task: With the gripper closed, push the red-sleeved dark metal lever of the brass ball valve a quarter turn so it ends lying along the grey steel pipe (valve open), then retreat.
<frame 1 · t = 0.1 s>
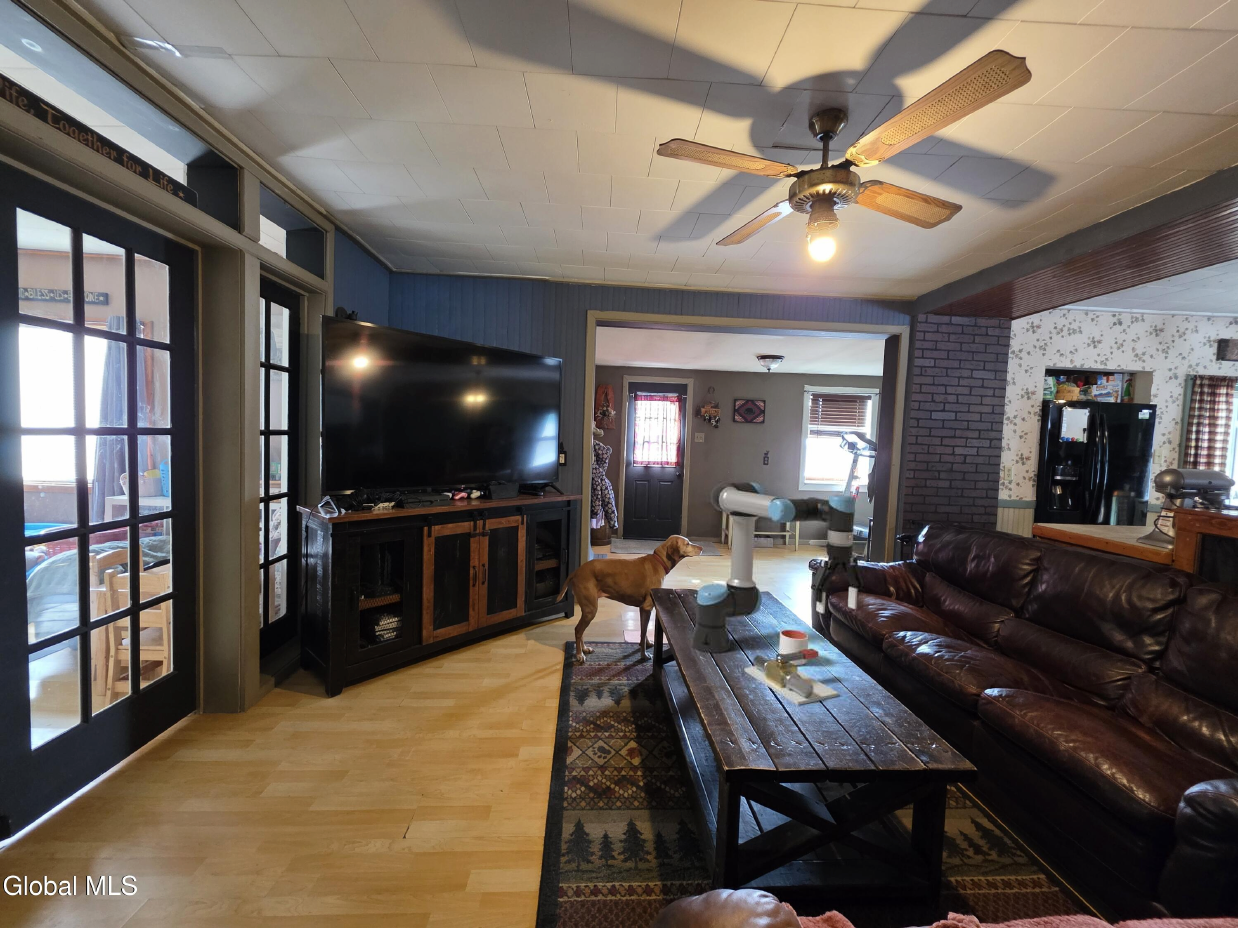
hand: (836, 609, 170), 28 cm above the table, fingers open, 13 cm apart
lever: (796, 656, 180), point 9 cm above the table, hinge at 0.0°
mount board: (789, 682, 179), on the table
valve: (781, 684, 177), resting on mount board
cup: (792, 661, 198), on the table
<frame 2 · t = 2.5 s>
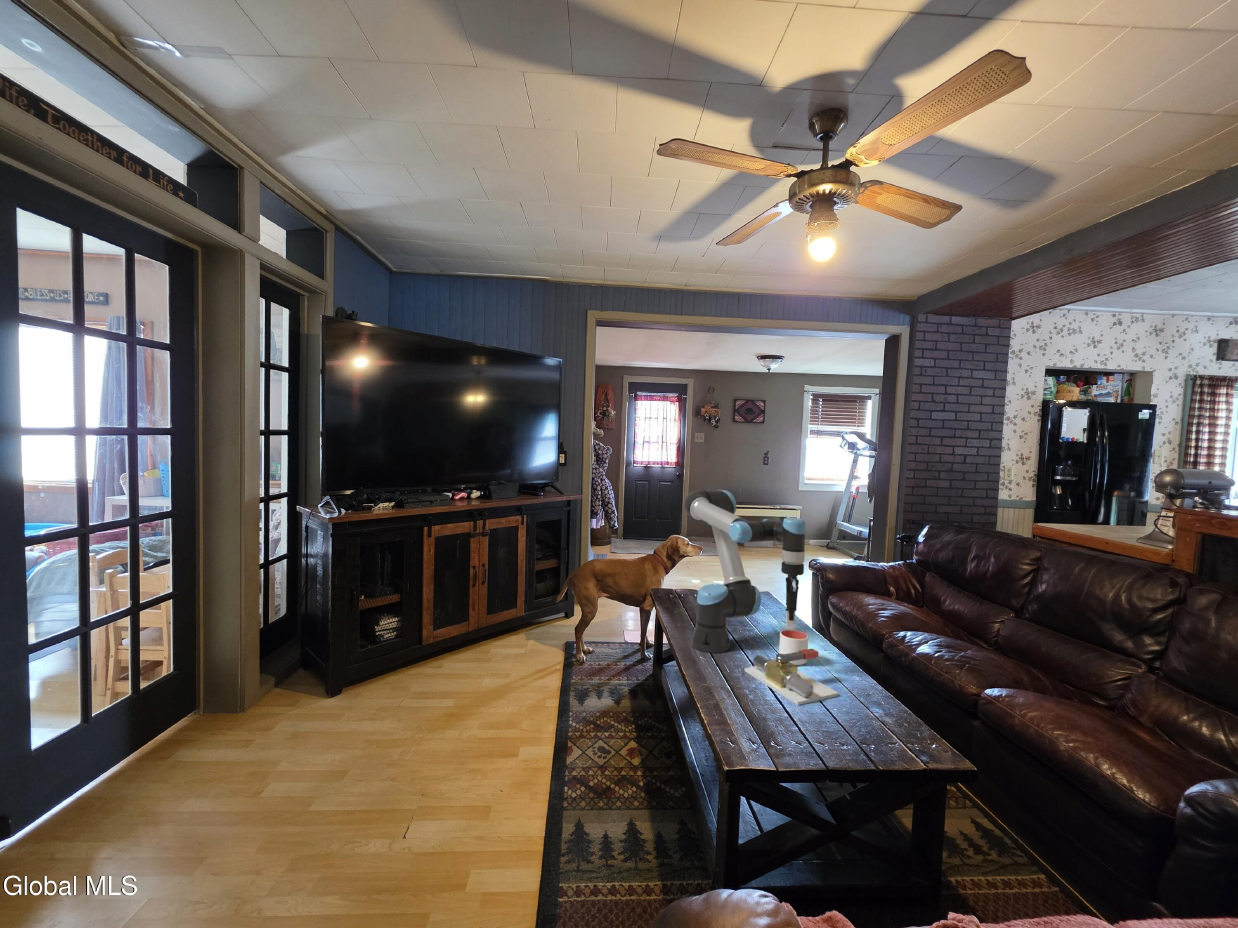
hand: (790, 628, 188), 15 cm above the table, fingers closed
nothing on the table moved.
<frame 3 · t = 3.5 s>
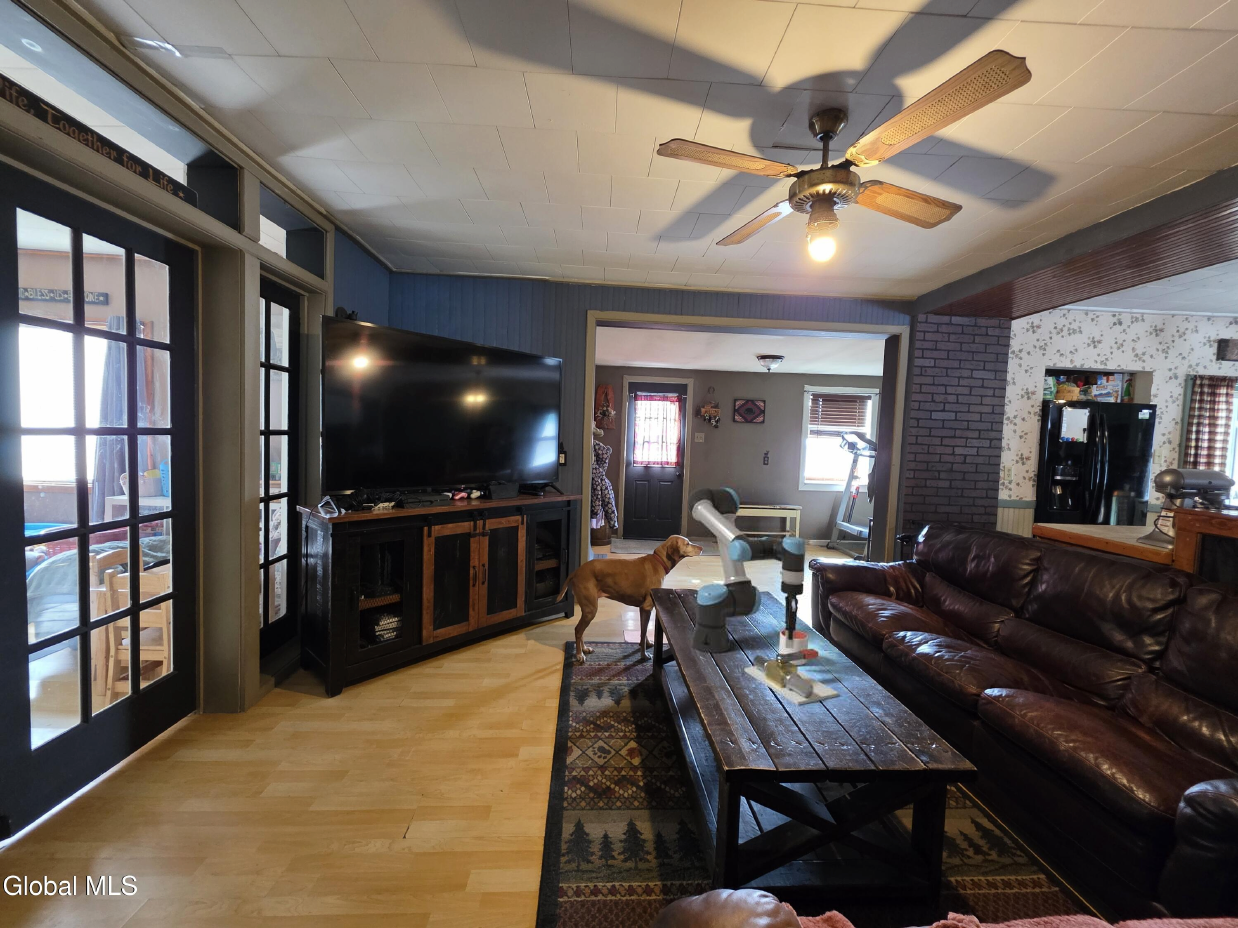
hand: (789, 647, 188), 8 cm above the table, fingers closed
nothing on the table moved.
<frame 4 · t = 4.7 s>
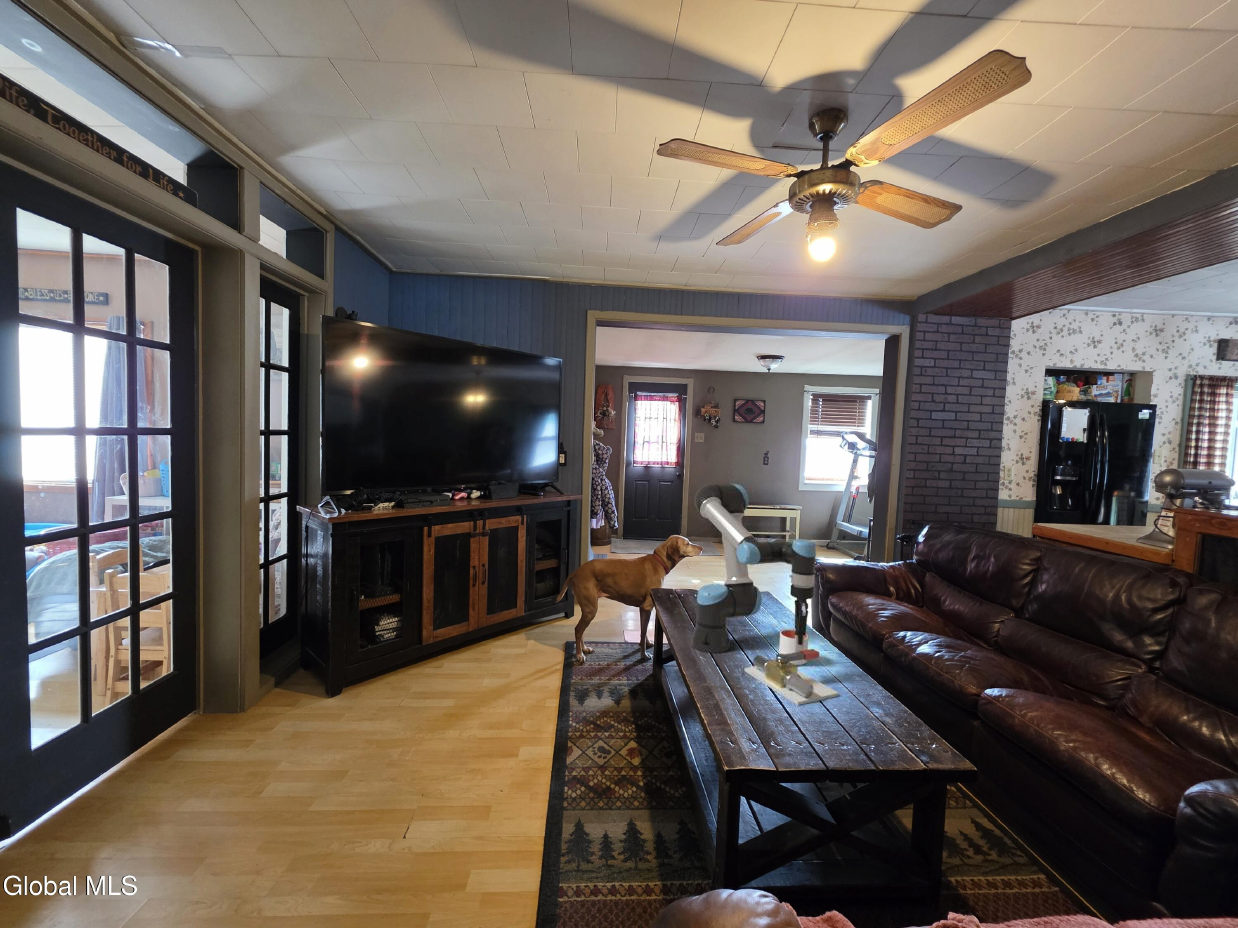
hand: (799, 652, 183), 9 cm above the table, fingers closed
lever: (797, 656, 179), point 9 cm above the table, hinge at 1.9°, touching gripper
everything else where it was.
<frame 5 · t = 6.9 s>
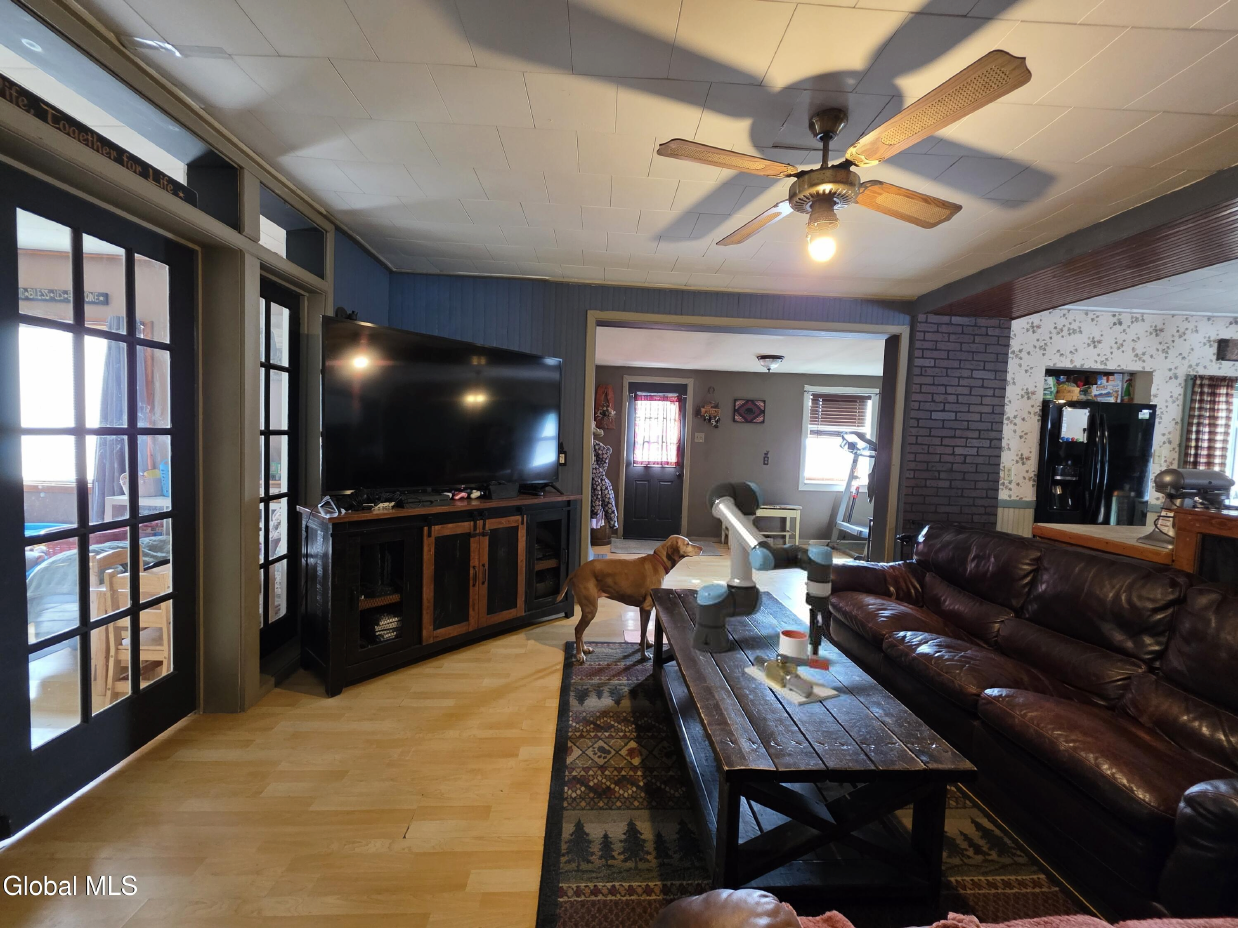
hand: (813, 662, 176), 8 cm above the table, fingers closed
lever: (802, 661, 175), point 9 cm above the table, hinge at 44.0°, touching gripper
everything else where it was.
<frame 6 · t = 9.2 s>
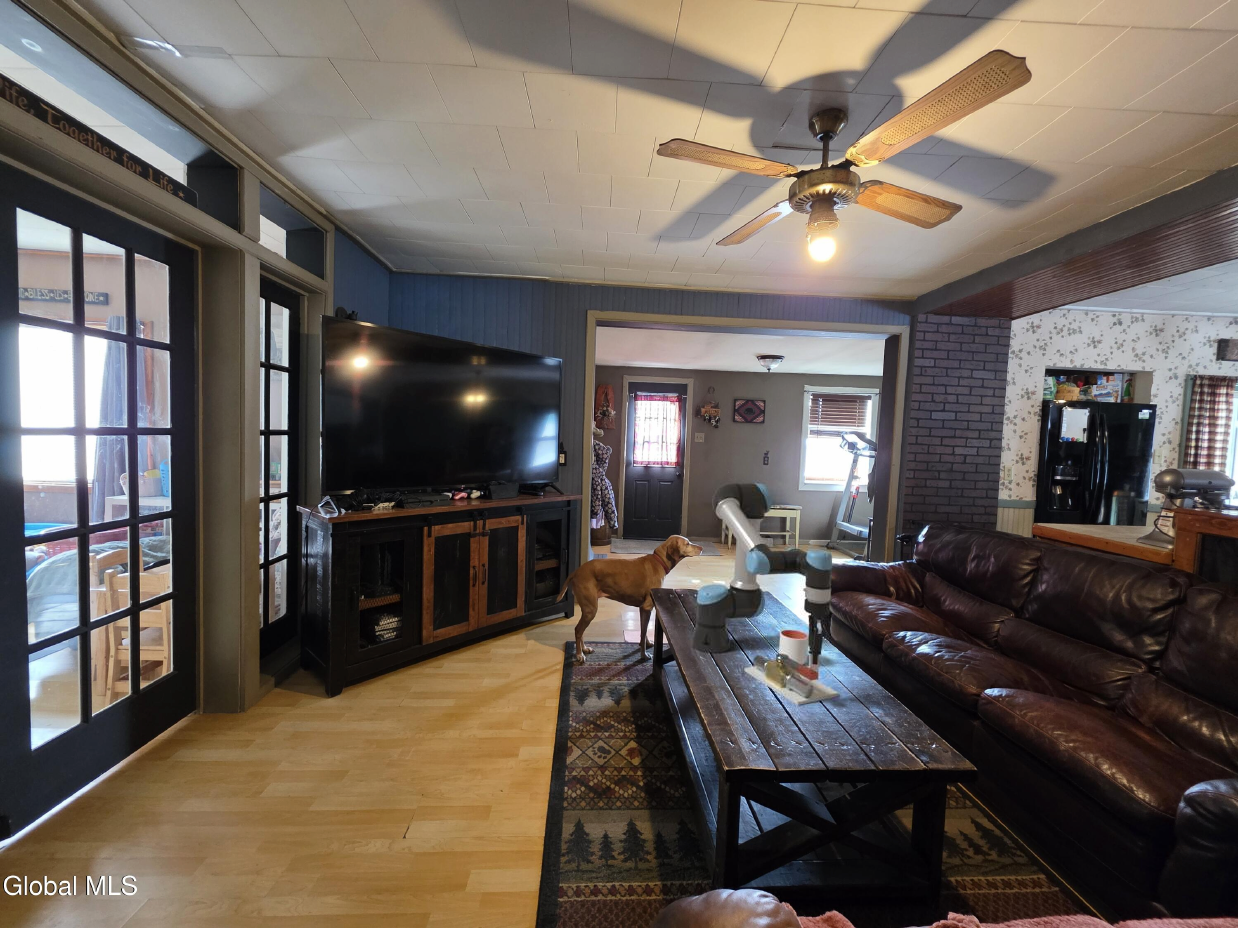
hand: (813, 672, 168), 8 cm above the table, fingers closed
lever: (795, 666, 171), point 9 cm above the table, hinge at 90.4°, touching gripper
everything else where it was.
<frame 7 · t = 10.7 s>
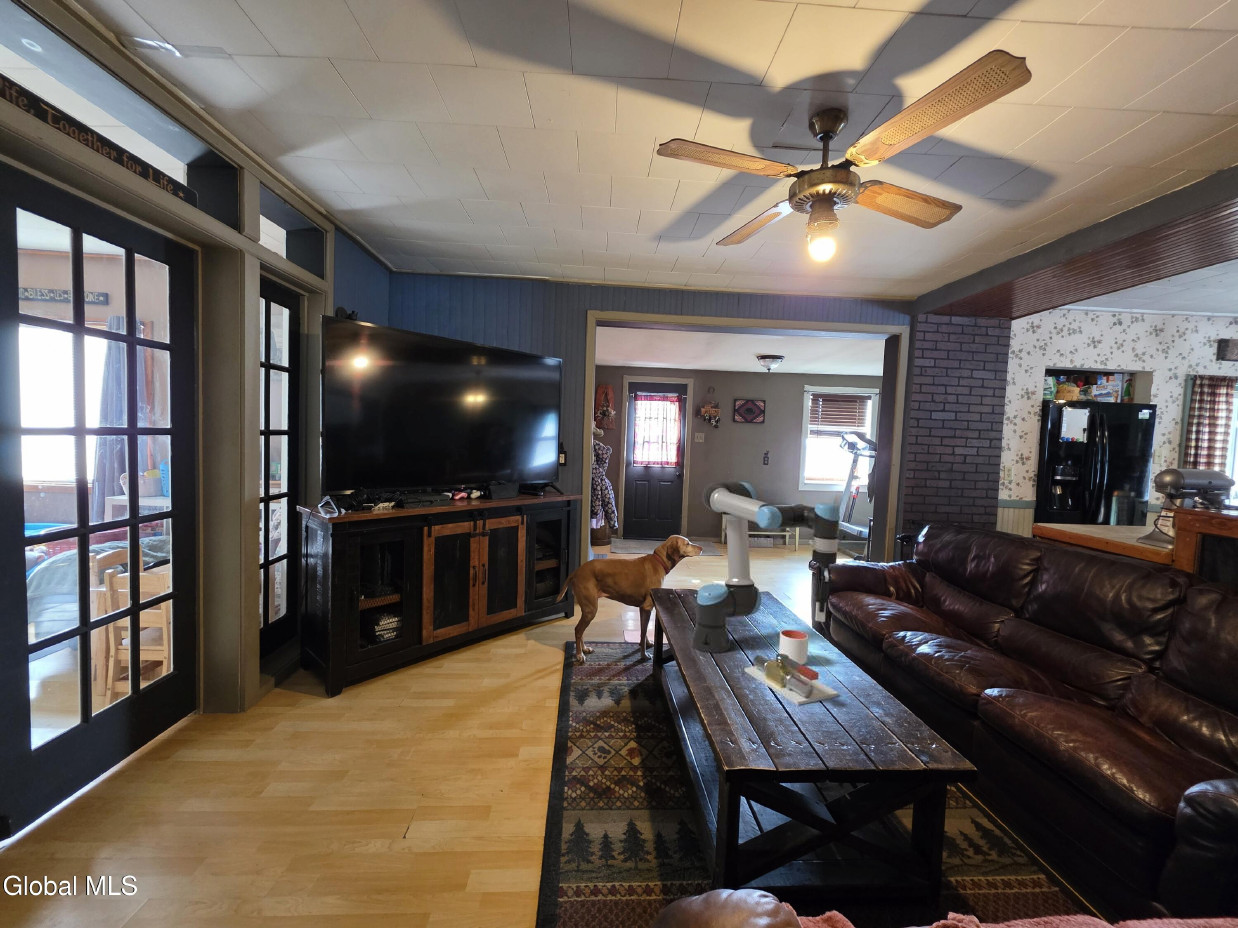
hand: (820, 620, 176), 22 cm above the table, fingers closed
lever: (795, 666, 171), point 9 cm above the table, hinge at 90.4°
everything else where it was.
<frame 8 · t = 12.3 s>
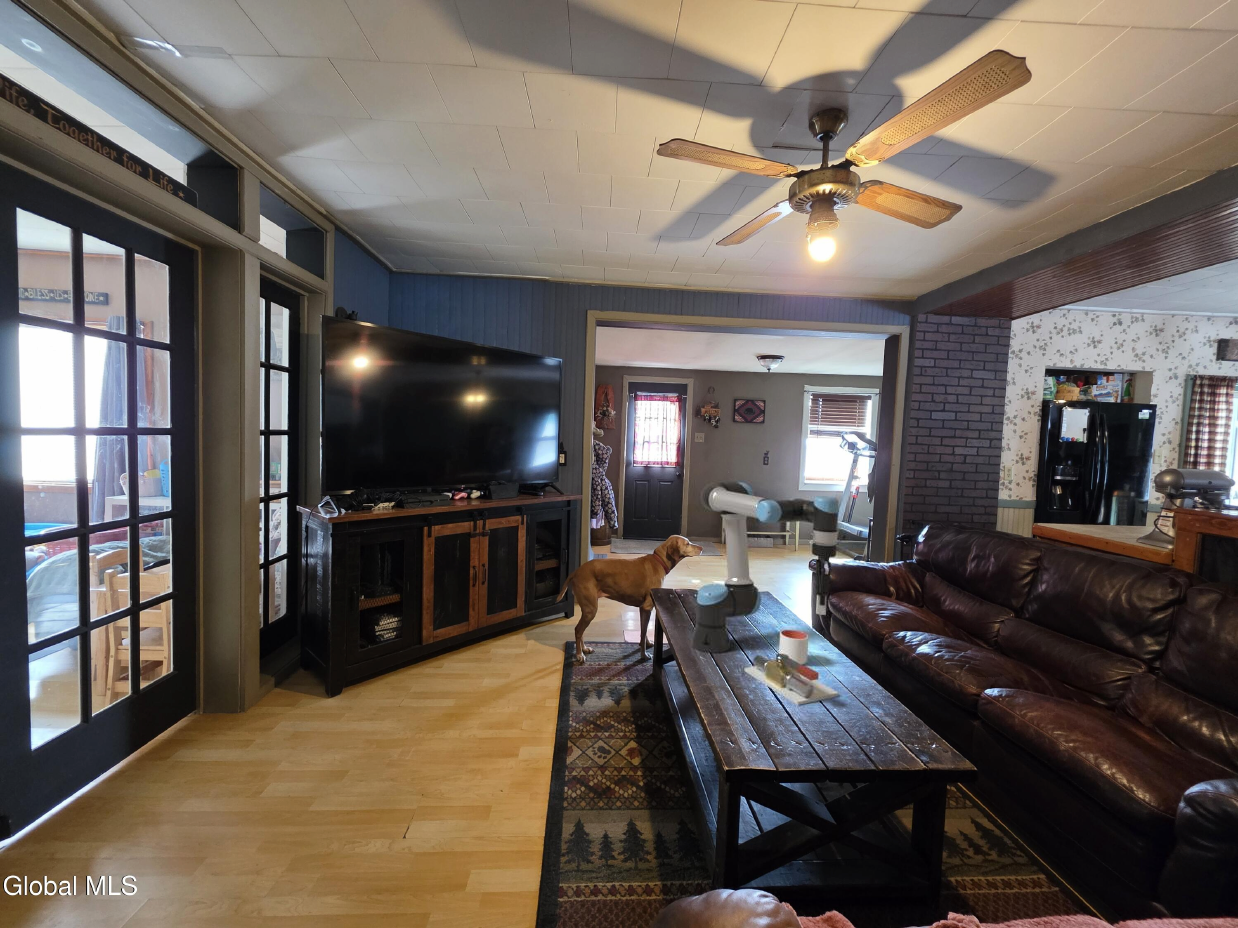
hand: (820, 613, 176), 24 cm above the table, fingers closed
nothing on the table moved.
at the end: lever at +90° (first picture: +0°); cup moved 0.3 cm from its start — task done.
